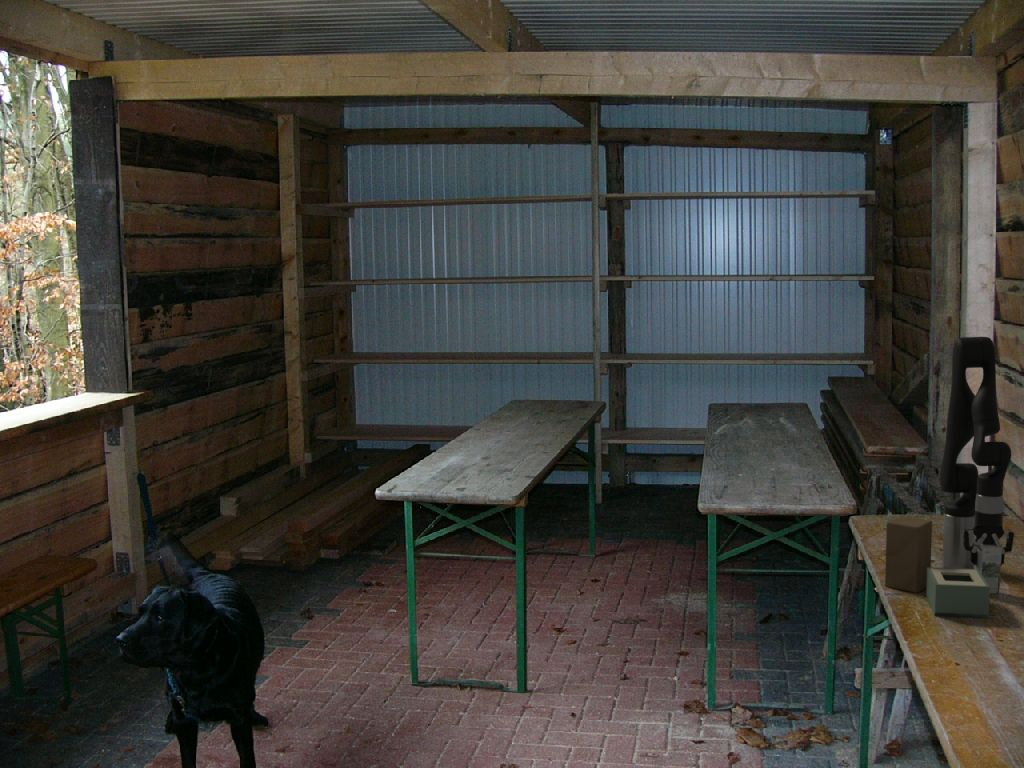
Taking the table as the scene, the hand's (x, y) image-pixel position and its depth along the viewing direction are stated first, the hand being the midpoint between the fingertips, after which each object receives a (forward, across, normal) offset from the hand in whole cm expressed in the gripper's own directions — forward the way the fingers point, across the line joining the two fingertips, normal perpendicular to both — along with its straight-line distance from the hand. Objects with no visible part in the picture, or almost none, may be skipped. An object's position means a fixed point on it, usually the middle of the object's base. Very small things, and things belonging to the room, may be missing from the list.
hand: (986, 564), depth 329 cm
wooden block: (+9, +21, -4) cm, 23 cm away
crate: (+9, +10, +14) cm, 20 cm away
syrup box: (+8, 0, 0) cm, 8 cm away
